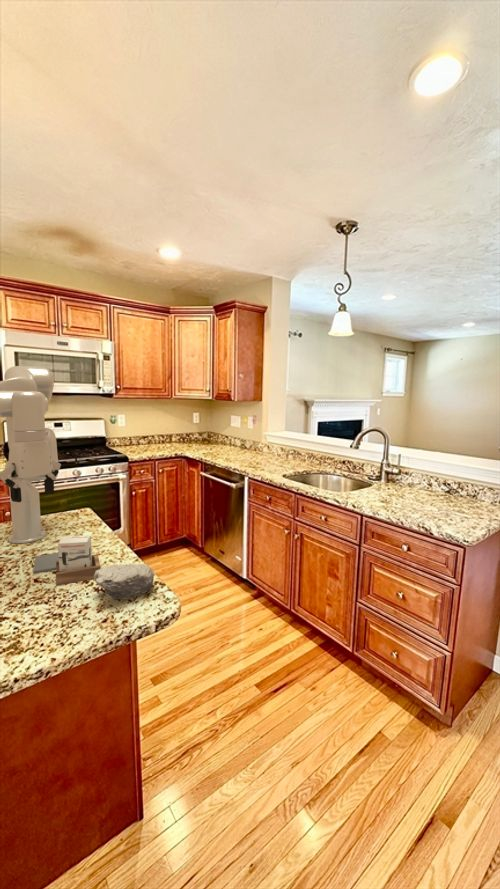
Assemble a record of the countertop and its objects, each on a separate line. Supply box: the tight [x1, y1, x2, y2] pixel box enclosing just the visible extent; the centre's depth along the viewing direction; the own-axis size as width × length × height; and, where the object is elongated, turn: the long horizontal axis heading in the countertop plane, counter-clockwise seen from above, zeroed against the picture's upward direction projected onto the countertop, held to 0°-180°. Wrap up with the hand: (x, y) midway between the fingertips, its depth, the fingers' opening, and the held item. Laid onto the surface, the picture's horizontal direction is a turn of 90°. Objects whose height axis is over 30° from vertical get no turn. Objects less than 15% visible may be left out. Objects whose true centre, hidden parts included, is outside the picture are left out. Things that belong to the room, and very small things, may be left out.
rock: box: [93, 563, 155, 601], centre depth 103 cm, size 11×17×10 cm, turn 128°
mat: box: [32, 552, 59, 575], centre depth 122 cm, size 12×12×1 cm
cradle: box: [55, 553, 102, 587], centre depth 114 cm, size 10×12×4 cm
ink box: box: [57, 534, 93, 572], centre depth 113 cm, size 8×5×12 cm, turn 103°
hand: (33, 497), depth 103 cm, fingers open, 9 cm apart
